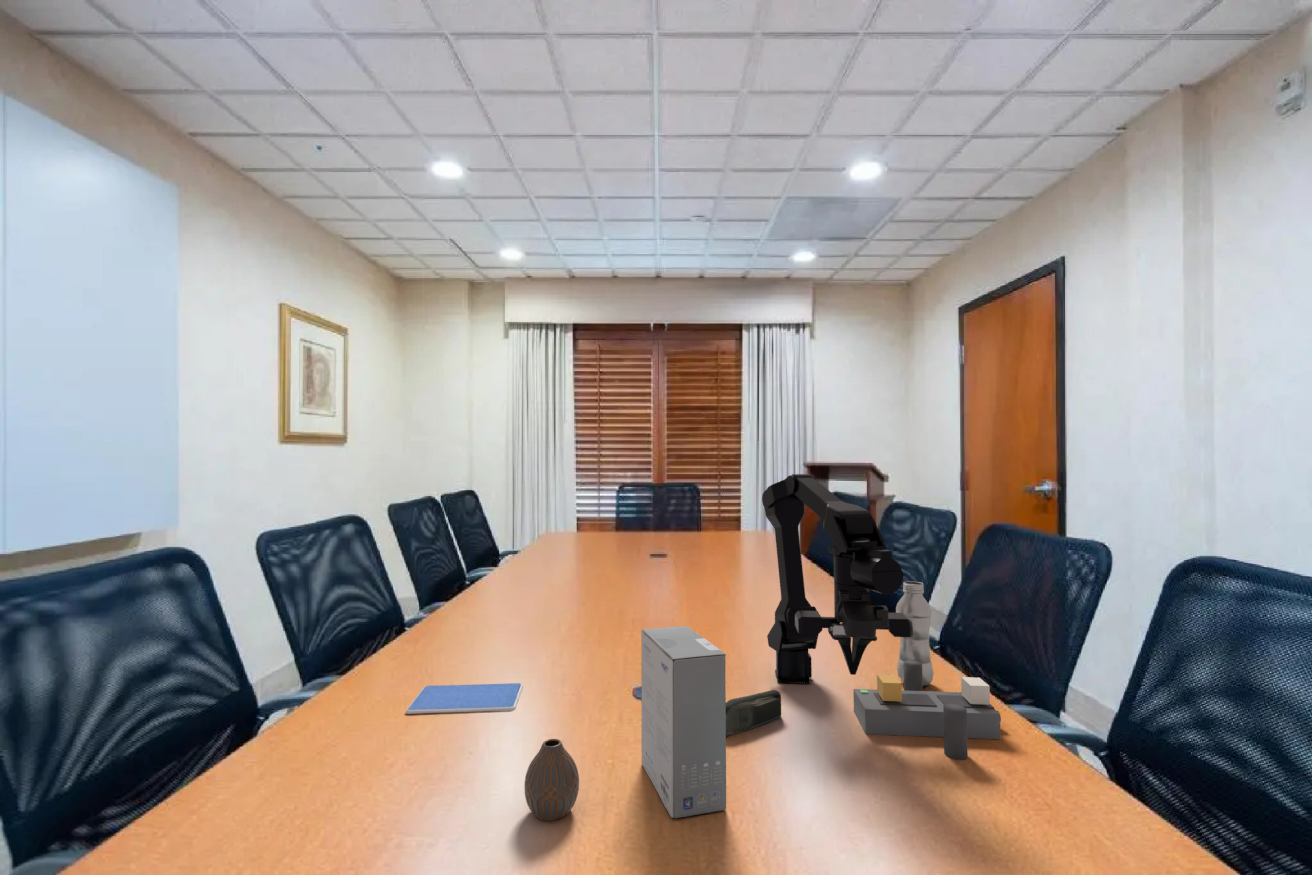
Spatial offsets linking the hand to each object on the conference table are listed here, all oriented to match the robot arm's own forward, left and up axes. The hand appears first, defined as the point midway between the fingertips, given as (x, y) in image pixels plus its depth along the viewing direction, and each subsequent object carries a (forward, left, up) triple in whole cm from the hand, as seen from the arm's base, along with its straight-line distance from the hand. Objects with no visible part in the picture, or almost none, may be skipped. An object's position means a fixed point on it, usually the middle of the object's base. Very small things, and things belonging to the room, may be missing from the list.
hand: (852, 673), depth 107 cm
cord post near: (+13, -11, -8) cm, 19 cm away
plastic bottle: (+16, +19, -8) cm, 26 cm away
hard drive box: (-28, -24, -8) cm, 38 cm away
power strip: (+12, 0, -8) cm, 14 cm away
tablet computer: (-70, +3, -9) cm, 71 cm away
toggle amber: (+6, 0, -4) cm, 7 cm away
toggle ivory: (+20, 0, -4) cm, 20 cm away
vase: (-44, -32, -8) cm, 55 cm away
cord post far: (+13, +10, -8) cm, 19 cm away
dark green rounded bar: (-18, -3, -8) cm, 20 cm away
